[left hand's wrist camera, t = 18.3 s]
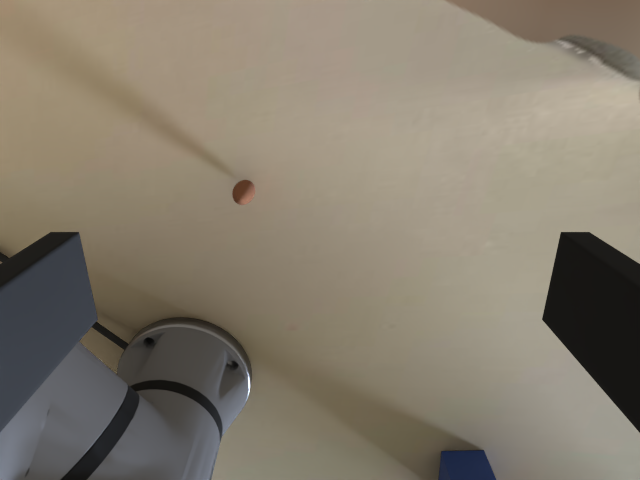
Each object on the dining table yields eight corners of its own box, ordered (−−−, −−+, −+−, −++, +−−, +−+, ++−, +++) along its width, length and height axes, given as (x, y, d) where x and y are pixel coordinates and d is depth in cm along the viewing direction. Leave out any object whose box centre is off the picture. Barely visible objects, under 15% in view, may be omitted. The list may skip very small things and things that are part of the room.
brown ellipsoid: (246, 198, 45) (238, 214, 41) (233, 183, 45) (224, 197, 40) (261, 187, 45) (255, 201, 40) (249, 171, 44) (241, 184, 40)
